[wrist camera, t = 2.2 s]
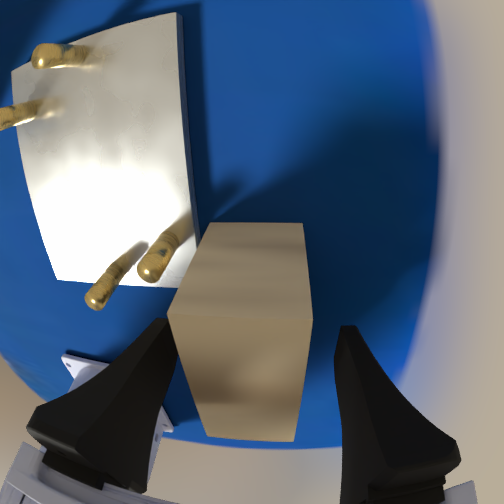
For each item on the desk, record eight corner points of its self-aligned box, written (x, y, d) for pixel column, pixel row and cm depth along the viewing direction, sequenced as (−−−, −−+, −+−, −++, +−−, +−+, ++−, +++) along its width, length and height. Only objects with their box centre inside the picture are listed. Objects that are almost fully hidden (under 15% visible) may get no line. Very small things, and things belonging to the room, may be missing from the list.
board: (294, 349, 17) (293, 441, 12) (225, 346, 17) (207, 436, 12) (302, 222, 13) (313, 319, 8) (210, 221, 13) (166, 313, 8)
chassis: (206, 279, 15) (190, 324, 12) (64, 271, 16) (35, 304, 13) (182, 15, 9) (150, -4, 6) (21, 70, 10) (-24, 77, 7)
